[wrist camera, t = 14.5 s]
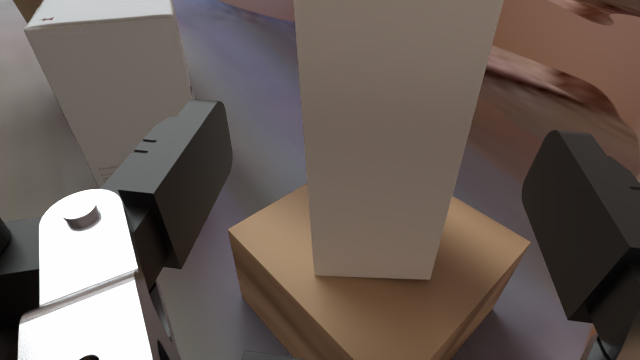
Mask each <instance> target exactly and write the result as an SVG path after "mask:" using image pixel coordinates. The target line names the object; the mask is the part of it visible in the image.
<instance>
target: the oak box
mask: <svg viewBox="0 0 640 360" xmlns="http://www.w3.org/2000/svg"><path fill="white" fill-rule="evenodd" d="M228 233H229V238H230V243H231V247H232V252H233V257H234V261H235V266H236V271H237V276H238V280H239V285H240V290H241V294H242V298H243V299H244V300H245V301H246V302H247V304H248V305H249V306H250V307H251V308H252V309H253V311H254V312H255V313H256V314H257V315H258V316H259V318H260V319H261V320H262V321H263V322H264V323H265V325H266V326H267V327H268V328H269V329H270V330H271V332H272V333H273V334H274V335H275V336H276V337H277V339H278V340H279V341H280V342H281V343H282V344H283V346H284V347H285V348H286V349H287V350H288V351H289V353H290V354H291V355H292V356H293V357H294V358H299V359H306V360H451V358H452V357H453V356H454V355H455V354H456V352H457V351H458V350H459V349H460V348H461V346H462V345H463V344H464V343H465V341H466V340H467V339H468V338H469V337H470V335H471V334H472V333H473V332H474V330H475V329H476V328H477V327H478V326H479V324H480V323H481V322H482V321H483V319H484V318H485V317H486V316H487V315H488V313H489V312H490V311H491V310H492V308H493V307H494V305H495V303H496V301H497V300H498V298H499V296H500V295H501V293H502V291H503V289H504V288H505V286H506V284H507V283H508V281H509V279H510V277H511V276H512V274H513V272H514V271H515V269H516V267H517V265H518V264H519V262H520V260H521V259H522V257H523V255H524V253H525V252H526V250H527V248H528V246H529V245H530V243H531V242H530V241H528V240H526V239H524V238H523V237H521V236H519V235H518V234H516V233H514V232H513V231H511V230H509V229H507V228H506V227H504V226H502V225H501V224H499V223H497V222H496V221H494V220H492V219H490V218H489V217H487V216H485V215H484V214H482V213H480V212H479V211H477V210H475V209H473V208H472V207H470V206H468V205H467V204H465V203H463V202H462V201H460V200H458V199H457V198H455V197H453V196H452V198H451V202H450V206H449V210H448V213H447V217H446V221H445V225H444V229H443V232H442V236H441V240H440V244H439V248H438V251H437V255H436V259H435V263H434V267H433V270H432V274H431V278H430V280H424V279H395V278H366V277H337V276H314V265H313V252H312V239H311V225H310V212H309V199H308V185H307V184H305V185H303V186H302V187H300V188H298V189H297V190H295V191H293V192H291V193H290V194H288V195H286V196H284V197H283V198H281V199H279V200H278V201H276V202H274V203H272V204H271V205H269V206H267V207H265V208H264V209H262V210H260V211H259V212H257V213H255V214H253V215H252V216H250V217H248V218H247V219H245V220H243V221H241V222H240V223H238V224H236V225H234V226H233V227H231V228H229V229H228Z"/></svg>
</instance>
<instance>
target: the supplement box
mask: <svg viewBox="0 0 640 360" xmlns="http://www.w3.org/2000/svg"><path fill="white" fill-rule="evenodd" d="M24 32H25V34H26V36H27V38H28V40H29V42H30V45H31V47H32V49H33V51H34V53H35V55H36V57H37V59H38V61H39V63H40V66H41V68H42V70H43V72H44V74H45V76H46V78H47V80H48V82H49V84H50V86H51V88H52V90H53V93H54V95H55V97H56V99H57V101H58V103H59V105H60V107H61V109H62V111H63V113H64V116H65V118H66V120H67V122H68V124H69V126H70V128H71V130H72V132H73V134H74V136H75V139H76V141H77V143H78V145H79V147H80V149H81V151H82V153H83V155H84V157H85V159H86V161H87V163H88V166H89V168H90V170H91V172H92V174H93V176H94V178H95V181H96V183H97V185H98V187H99V189H100V188H101V187H102V186H103V185H104V184H105V183H106V181H107V180H108V179H109V178H110V177H111V176H112V174H113V173H114V172H115V171H116V170H117V169H118V168H119V166H120V165H121V164H122V163H123V162H124V161H125V159H126V158H127V157H128V156H129V155H130V154H131V153H132V152H134V149H135V148H136V147H137V146H138V144H139V143H140V142H143V139H144V138H145V136H146V135H147V134H148V133H149V132H150V131H151V129H152V128H153V127H154V126H156V125H157V124H159V123H161V122H163V121H164V120H166V119H168V118H169V117H171V116H172V117H177V115H178V114H179V113H180V112H181V110H182V109H183V108H184V107H185V106H186V104H187V103H188V102H189V101H190V100H191V99H194V95H193V91H192V86H191V81H190V77H189V72H188V67H187V63H186V58H185V53H184V48H183V44H182V39H181V35H180V31H179V26H178V22H177V17H176V13H175V9H174V5H173V1H172V0H44V1H43V2H42V4H41V5H40V7H39V8H38V9H37V10H36V12H35V14H34V15H33V17H32V19H31V20H30V21H29V23H28V24H27V26H26V27H25V28H24Z"/></svg>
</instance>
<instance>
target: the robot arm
mask: <svg viewBox="0 0 640 360" xmlns="http://www.w3.org/2000/svg"><path fill="white" fill-rule="evenodd" d="M231 166H232V147H231V141H230V135H229V129H228V123H227V117H226V111H225V107H224V105H223V103H222V102H220V101H209V100H198V99H191V100H190V101H189V102H188V103H187V104H186V106H185V107H184V108H183V109H182V110H181V112H180V113H179V114H178V115H177V117H172V116H171V117H169V118H168V119H166V120H164V121H163V122H161V123H159V124H157V125H156V126H154V127H153V128H152V129H151V131H150V132H149V133H148V134H147V135H146V136H145V138H144V139H143V142H140V143H139V144H138V146H137V147H136V148H135V149H134V152H132V153H131V154H130V155H129V156H128V157H127V158H126V159H125V161H124V162H123V163H122V164H121V165H120V166H119V168H118V169H117V170H116V171H115V172H114V173H113V174H112V176H111V177H110V178H109V179H108V180H107V181H106V183H105V184H104V185H103V186H102V187H101V188H100V189H92V190H86V191H82V192H78V193H75V194H72V195H70V196H68V197H65V198H64V199H62V200H60V201H58V202H57V203H56V204H54V205H53V206H52V207H51V208H49V209H48V210H47V212H46V213H45V214H44V215H43V217H39V218H31V219H23V220H15V221H8V222H3V221H2V219H1V218H0V360H181V359H180V356H179V353H178V350H177V346H176V343H175V339H174V336H173V332H172V329H171V325H170V322H169V318H168V315H167V311H166V308H165V304H164V300H163V297H162V293H161V290H160V286H159V283H158V281H157V277H158V275H159V273H160V271H161V270H162V268H163V267H169V268H176V269H182V267H183V265H184V263H185V261H186V259H187V257H188V255H189V253H190V251H191V249H192V247H193V245H194V243H195V241H196V239H197V237H198V235H199V233H200V231H201V229H202V227H203V225H204V223H205V221H206V219H207V217H208V215H209V213H210V211H211V209H212V207H213V205H214V203H215V201H216V199H217V197H218V195H219V193H220V191H221V189H222V187H223V185H224V183H225V181H226V179H227V177H228V175H229V173H230V170H231ZM522 202H523V206H524V208H525V211H526V213H527V216H528V218H529V221H530V224H531V226H532V229H533V231H534V234H535V237H536V239H537V242H538V244H539V247H540V249H541V252H542V255H543V257H544V260H545V262H546V265H547V268H548V270H549V273H550V275H551V278H552V280H553V283H554V286H555V288H556V291H557V293H558V296H559V299H560V301H561V304H562V306H563V309H564V311H565V314H566V317H567V319H568V320H571V321H579V322H587V323H593V324H594V326H595V329H596V331H597V333H596V334H595V335H594V336H593V337H592V338H591V339H590V340H589V342H588V344H587V346H586V348H585V351H584V353H583V355H582V357H581V359H580V360H640V183H639V182H638V181H637V179H636V178H635V177H634V176H633V174H632V173H631V172H630V171H629V170H628V169H626V168H625V167H624V166H622V165H621V164H620V163H618V162H617V161H616V160H614V159H613V158H611V157H610V156H607V155H606V154H605V153H604V151H603V150H602V149H601V147H600V146H599V144H598V143H597V142H596V140H595V139H594V138H593V136H592V135H591V134H589V133H582V132H570V131H558V130H553V131H551V132H549V133H548V134H547V136H546V137H545V139H544V141H543V143H542V145H541V147H540V149H539V151H538V153H537V155H536V157H535V159H534V161H533V163H532V166H531V168H530V170H529V172H528V174H527V176H526V178H525V180H524V183H523V187H522ZM242 360H306V359H299V358H292V357H286V356H279V355H272V354H265V353H258V352H251V351H244V354H243V358H242Z"/></svg>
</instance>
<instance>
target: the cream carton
mask: <svg viewBox="0 0 640 360" xmlns="http://www.w3.org/2000/svg"><path fill="white" fill-rule="evenodd" d="M502 4H503V0H294V11H295V26H296V39H297V53H298V66H299V79H300V92H301V106H302V119H303V132H304V146H305V159H306V172H307V185H308V199H309V212H310V225H311V239H312V252H313V265H314V276H337V277H366V278H395V279H424V280H430V278H431V274H432V270H433V267H434V263H435V259H436V255H437V251H438V248H439V244H440V240H441V236H442V232H443V229H444V225H445V221H446V217H447V213H448V210H449V206H450V202H451V198H452V194H453V191H454V187H455V183H456V179H457V175H458V172H459V168H460V164H461V160H462V156H463V153H464V149H465V145H466V141H467V137H468V134H469V130H470V126H471V122H472V118H473V114H474V111H475V107H476V103H477V99H478V95H479V92H480V88H481V84H482V80H483V76H484V73H485V69H486V65H487V61H488V57H489V54H490V50H491V46H492V42H493V38H494V34H495V31H496V27H497V23H498V19H499V16H500V12H501V8H502Z"/></svg>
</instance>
